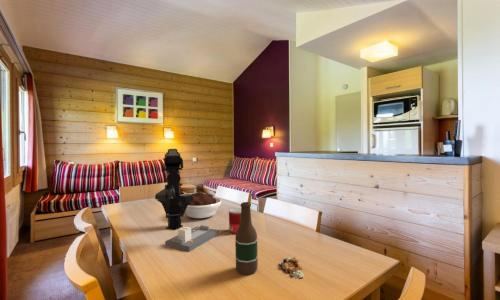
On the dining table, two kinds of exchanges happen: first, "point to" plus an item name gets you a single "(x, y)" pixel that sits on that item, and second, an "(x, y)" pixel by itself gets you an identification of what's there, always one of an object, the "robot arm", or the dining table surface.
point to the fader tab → (184, 233)
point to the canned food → (234, 220)
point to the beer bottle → (246, 243)
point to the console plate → (193, 238)
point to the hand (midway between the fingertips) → (174, 215)
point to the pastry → (292, 267)
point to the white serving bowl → (202, 205)
